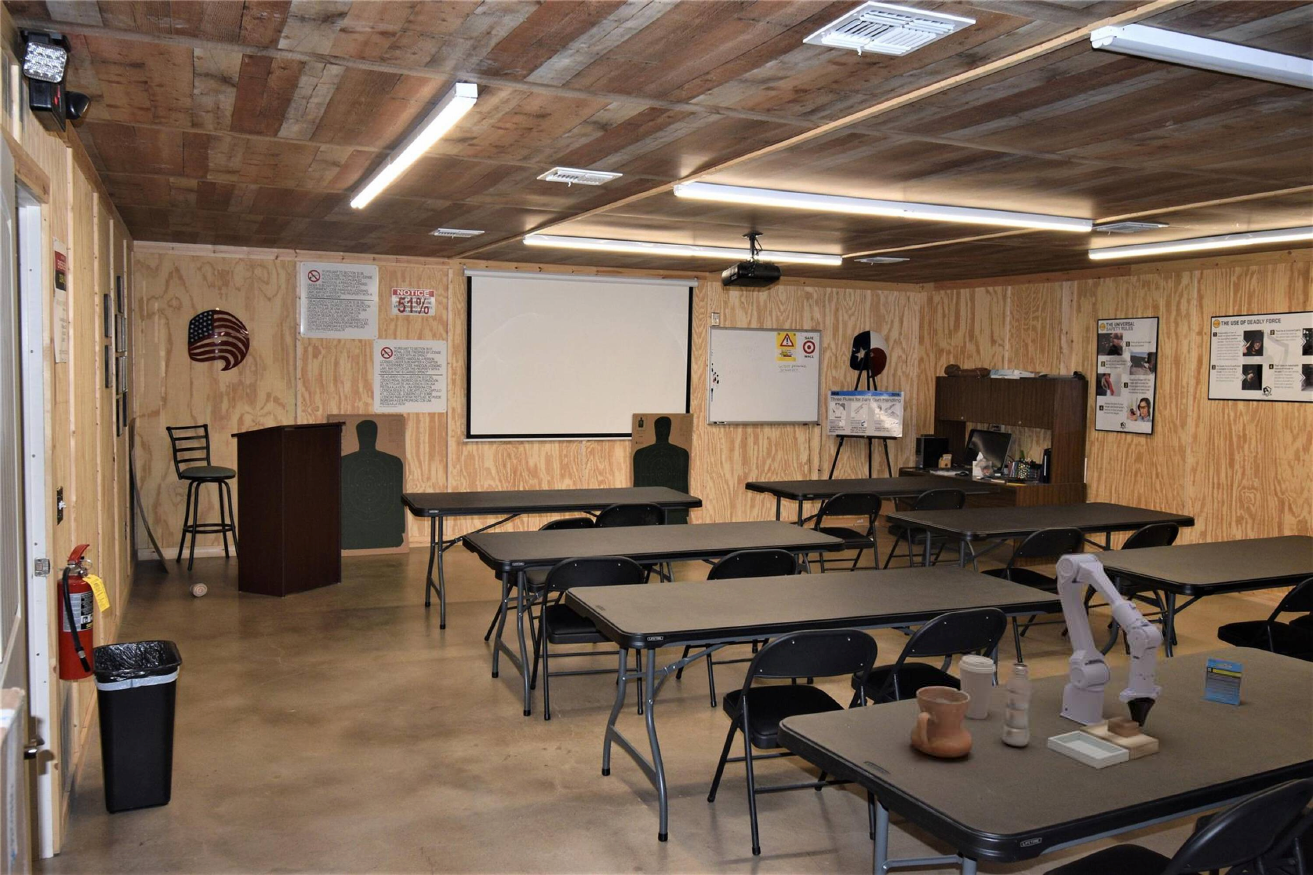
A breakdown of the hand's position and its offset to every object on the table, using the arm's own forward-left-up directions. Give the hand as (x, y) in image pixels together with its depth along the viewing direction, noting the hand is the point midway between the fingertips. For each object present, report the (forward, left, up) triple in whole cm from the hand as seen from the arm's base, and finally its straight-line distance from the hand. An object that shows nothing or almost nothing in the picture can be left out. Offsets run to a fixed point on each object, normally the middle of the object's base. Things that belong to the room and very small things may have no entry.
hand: (1137, 725), depth 250 cm
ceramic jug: (-17, -52, -4) cm, 55 cm away
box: (0, -20, -4) cm, 20 cm away
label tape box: (-8, +52, -4) cm, 53 cm away
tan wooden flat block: (0, -8, -4) cm, 9 cm away
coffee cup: (-31, -24, -4) cm, 39 cm away
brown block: (0, -6, -1) cm, 6 cm away
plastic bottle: (-12, -31, -4) cm, 34 cm away
